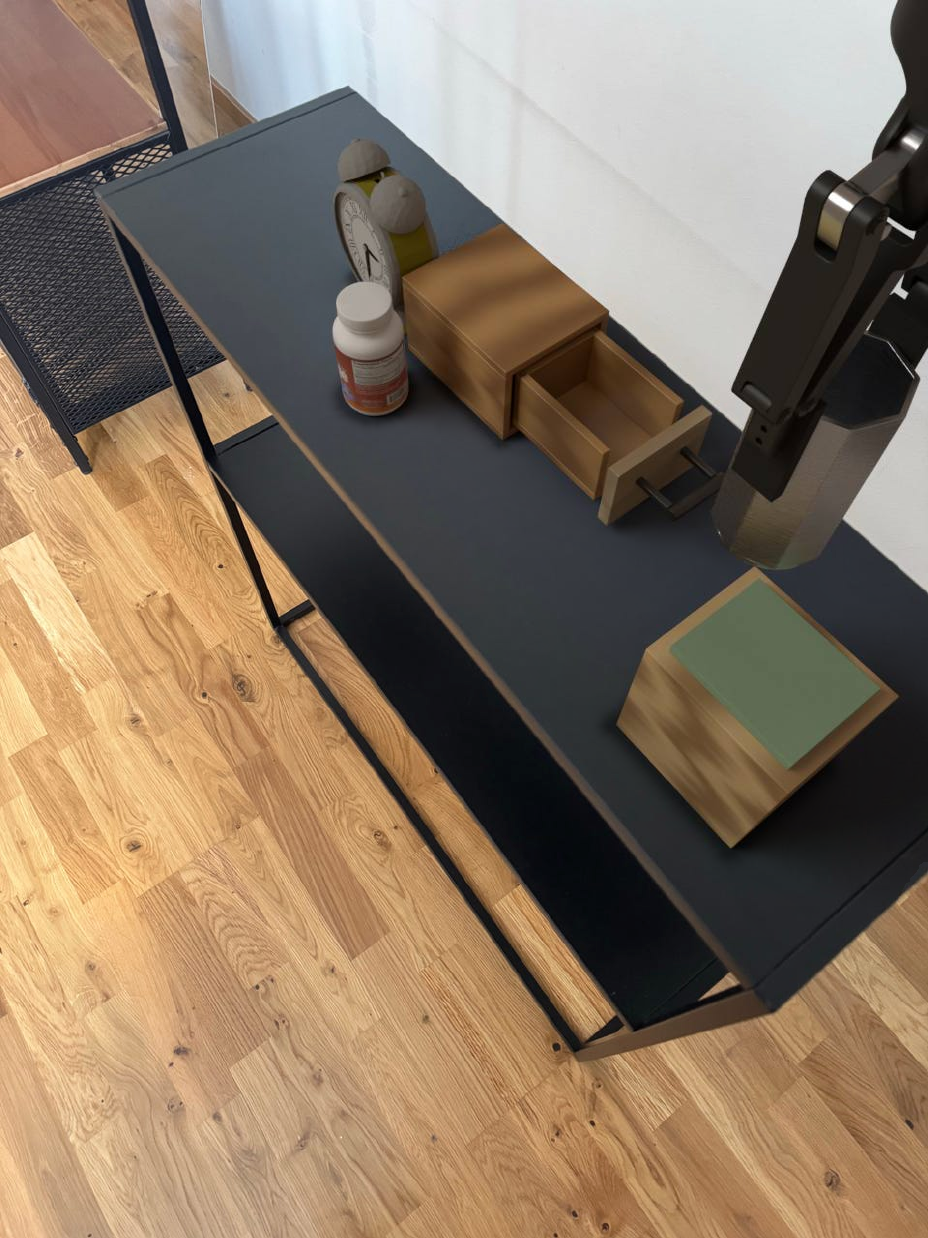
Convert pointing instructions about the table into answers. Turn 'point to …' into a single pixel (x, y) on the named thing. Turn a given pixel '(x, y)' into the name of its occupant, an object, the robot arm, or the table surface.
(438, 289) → the cabinet
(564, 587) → the table surface
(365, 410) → the pill bottle
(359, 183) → the alarm clock
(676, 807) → the table surface
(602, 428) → the drawer
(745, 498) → the metal cup
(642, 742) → the stand
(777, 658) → the mat
